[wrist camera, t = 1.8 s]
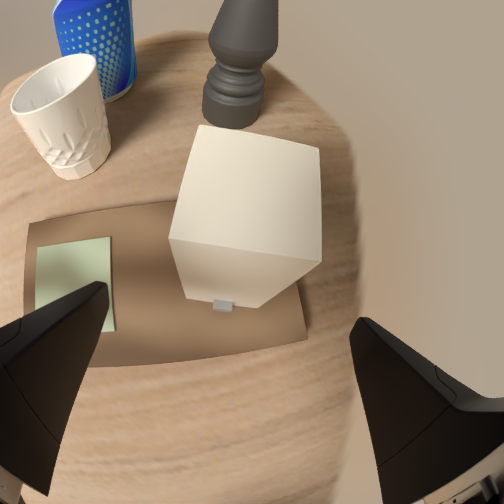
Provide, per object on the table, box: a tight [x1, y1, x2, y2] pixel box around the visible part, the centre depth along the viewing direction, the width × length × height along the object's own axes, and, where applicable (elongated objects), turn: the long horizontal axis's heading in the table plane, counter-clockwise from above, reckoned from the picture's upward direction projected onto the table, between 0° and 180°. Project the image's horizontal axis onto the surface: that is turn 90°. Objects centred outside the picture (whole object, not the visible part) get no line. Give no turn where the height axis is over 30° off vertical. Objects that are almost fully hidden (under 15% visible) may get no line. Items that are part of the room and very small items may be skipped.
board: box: [24, 201, 308, 367], centre depth 17 cm, size 12×22×6 cm, turn 100°
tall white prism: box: [168, 125, 322, 313], centre depth 15 cm, size 6×5×11 cm
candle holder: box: [202, 0, 278, 129], centre depth 16 cm, size 6×6×25 cm
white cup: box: [10, 53, 111, 180], centre depth 18 cm, size 8×8×10 cm
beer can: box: [52, 0, 137, 104], centre depth 19 cm, size 8×8×16 cm
